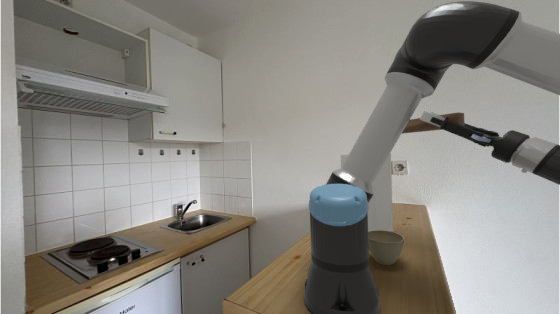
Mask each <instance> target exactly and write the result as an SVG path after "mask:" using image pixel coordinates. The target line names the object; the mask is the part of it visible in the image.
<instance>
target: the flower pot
mask: <svg viewBox="0 0 560 314" xmlns="http://www.w3.org/2000/svg"><path fill="white" fill-rule="evenodd" d="M368 241H369V253H370V254H371V256H372V258H373V259H374V261H375V262H377V263H378V264H380V265H384V266H392V265H394V264H395V263H396V262H397V261H398V260H399V257H400V256H401V253H402V251H403V248H404V243H405V236H403V234H400V233H398V232H395V231H393V232H392V231H387V230H371V231H368Z"/></svg>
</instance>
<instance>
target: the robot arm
mask: <svg viewBox="0 0 560 314" xmlns="http://www.w3.org/2000/svg"><path fill="white" fill-rule="evenodd" d="M453 65H460V66H463V67H466V68H468V69H471V70H477V69H480V68H484V67H485V68H487V69H490V70H492V71H495V72H497V73H500V74H503V75H505V76H508V77H511V78H513V79H516V80H518V81H521V82H524V83H526V84H528V85H529V84H530V85H531V86H534V87H537V88H539V89H542V90H545V91H547V92H550V93H552V94H555V95H557V96H560V33H559V32H555V31H552V30H550V29H547V28H543V27H540V26H537V25H535V24H532V23H528V22H525V21H523V17H522V12H521V11H519V10H515V9H513V8H508V7H506V6H502V5H498V4H495V3H490V2H483V1H473V0H472V1H471V0H467V1H466V0H461V1H451V2H446V3H443V4H440V5H437V6H435V7H433V8H431V9H430V10H427V11H426V12H425V13H423V14H422V15H421V16H420V17H419V18H418V19H416V21H415V22H414V23H413V25H412V26H411V28H410V30H409V31H408V34H407V36H406V37H405V40H404V41H403V42H402V44H401V47H400V48H399V49H398V51H397V52H396V54H395V56H394V58H393V61H392V63H391V65H390V67H389V68H388V70H387V72H386V74H385V75H384V81H385V83H386V87H385V89H384V90H383V92H382V94H381V96H380V97H379V100H378V101H377V103H376V105H375V106H374V109H373V110H372V112H371V114H370V115H369V118H368V119H367V121H366V123H365V124H364V127H363V129H361V132H360V134H359V135H358V137H357V139H356V141H355V143H354V144H353V147H352V148H351V150H350V152H349V154H347V155H348V157H347V159H346V161H345V163H344V164H343V166H342V168H341V167H340V168H339V169H336V170H335V169H334V170H333V171H332V173H331V175H330V176H329V178H328V180H327V181H326V184H322V185H320V186H316V187H315V188H313V189H312V190H311V192H310V193H309V201H308V208H309V209H308V210H309V223H310V224H309V229H310V230H309V231H310V255H311V256H310V259H311V261H310V265H309V269H308V273H307V278H306V280H305V281H304V287H303V298H304V304H305V307H306V308H307V309H308V310H309V311H310V312H311V313H312V314H380V310H381V299H380V298H381V296H380V292H379V290H378V287H377V286H376V283H375V280H374V279H375V278H374V276H373V273H372V270H371V268H370V250H369V241H368V209H369V205H368V203H369V201H370V200H371V198H372V196H373V195H374V191H373V187H372V183H373V182H374V180H375V178H376V177H377V175H378V173H379V171H380V170H381V168H382V166H383V165H384V163H385V161H386V159H387V158H388V156H389V154H390V153H391V152H392V151H393V149H394V147H395V145H396V144H397V142H398V141H399V139H400V137H401V135H403V134H402V132H403V130H404V128H405V127H406V125H407V123H408V122H409V120H411V119H412V116H413V114H414V113H415V111H416V110H417V107H419V104H420V103H421V101H422V100H423V99H424V98H427V97H430V96H432V95H433V94H434V92H435V91H436V89H437V88H438V85H439V84H440V82H441V80H442V79H443V77H444V75H445V74H446V72H447V71H448V70H449V68H450V67H452V66H453ZM438 115H440V114H439V113H435V112H428V111H425V110H424V111H423V112H422V114H421V116H420V117H419V118H420V120H422V121H425V122H427V123H430V124H433V125H435V126H438V127H440V129H442V130H443V131H446V132H448V133H451V134H452V135H453V134H454V135H456V136H459V137H461V138H463V139H466V140H468V141H469V142H472V143H474V144H477V145H479V146H481V147H484V148H485V147H488V148H489V147H492V148H493V149H492V151H491V154H490V155H491V157H492V158H493V159H496V160H499V161H501V162H503V163H506V164H508V163H511V164H512V166H514V167H515V168H518V169H521V171H520V172H522V173H524V174H526V173H531V174H533V175H535V176H538V177H540V178H543V179H544V180H547V181H550V182H552V183H555V184H556V185H559V186H560V145H559V144H557V143H555V142H552V141H548V140H546V139H542V138H539V137H537V136H536V137H531V136H530V135H528V134H527V133H524V132H523V133H522V132H520V131H516V130H509V131H507V132H506V133H504V134H503V136H502V137H501V136H500V134H499V132H497V131H493V130H488V129H485V128H481V127H477V126H474V125H472V124H471V125H470V124H468V123H465V122H464V123H465V126H464V125H461V124H458V123H455V122H452V121H449V120H448V119H449V117H446V118H443V117H440V116H438ZM530 137H531V138H530Z"/></svg>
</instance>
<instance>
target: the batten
mask: <svg viewBox="0 0 560 314" xmlns="http://www.w3.org/2000/svg"><path fill="white" fill-rule="evenodd" d="M438 116H440V117H443V118H446V117H449V119H448V120H449V121H452V122H455V123H458V124H461V125H464V126H465V113H464V112H452V113H446V114H439V115H438ZM420 118H421V117H418V118H417V117H416V118H410V120H409V122H408V123H407V125H406V127H405V128H404V130H403V132H402V134H401V135H403V134H412V133H422V132H430V131H440V130H442V129H440V127H438V126H435V125H433V124H430V123H427V122H425V121H422V120H420Z"/></svg>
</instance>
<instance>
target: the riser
mask: <svg viewBox="0 0 560 314" xmlns="http://www.w3.org/2000/svg"><path fill="white" fill-rule="evenodd" d="M348 155H349V154H340V169H341V168H342V166H343V164H344V163H345V161H346V159H347V157H348ZM392 183H393V180H392V154H391V153H390V154H389V156H388V158H387V159H386V161H385V163H384V165H383V166H382V168H381V170H380V171H379V173H378V175H377V177H376V178H375V180H374V182H373V183H372V187H373V191H374V195H373V196H372V198H371V200H370V201H369V203H368V205H369V209H368V231H371V230H387V231H392V232H394V221H393V218H394V217H393V214H394V213H393V186H392V185H393V184H392Z"/></svg>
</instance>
